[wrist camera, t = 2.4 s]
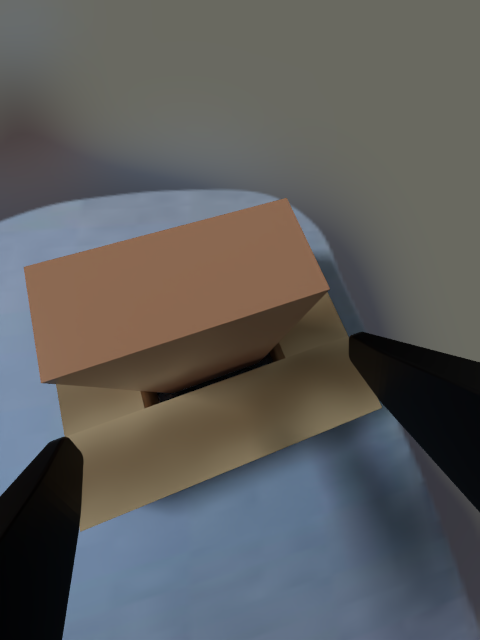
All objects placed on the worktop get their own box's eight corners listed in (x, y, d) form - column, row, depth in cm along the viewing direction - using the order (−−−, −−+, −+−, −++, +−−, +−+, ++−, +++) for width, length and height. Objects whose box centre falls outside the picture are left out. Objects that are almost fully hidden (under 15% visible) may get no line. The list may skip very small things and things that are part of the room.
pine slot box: (352, 405, 18) (382, 407, 14) (111, 502, 15) (80, 531, 12) (285, 254, 21) (296, 227, 17) (75, 316, 18) (42, 298, 15)
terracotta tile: (258, 363, 18) (330, 288, 6) (173, 393, 17) (41, 383, 5) (246, 330, 19) (286, 197, 6) (163, 357, 18) (23, 267, 5)
